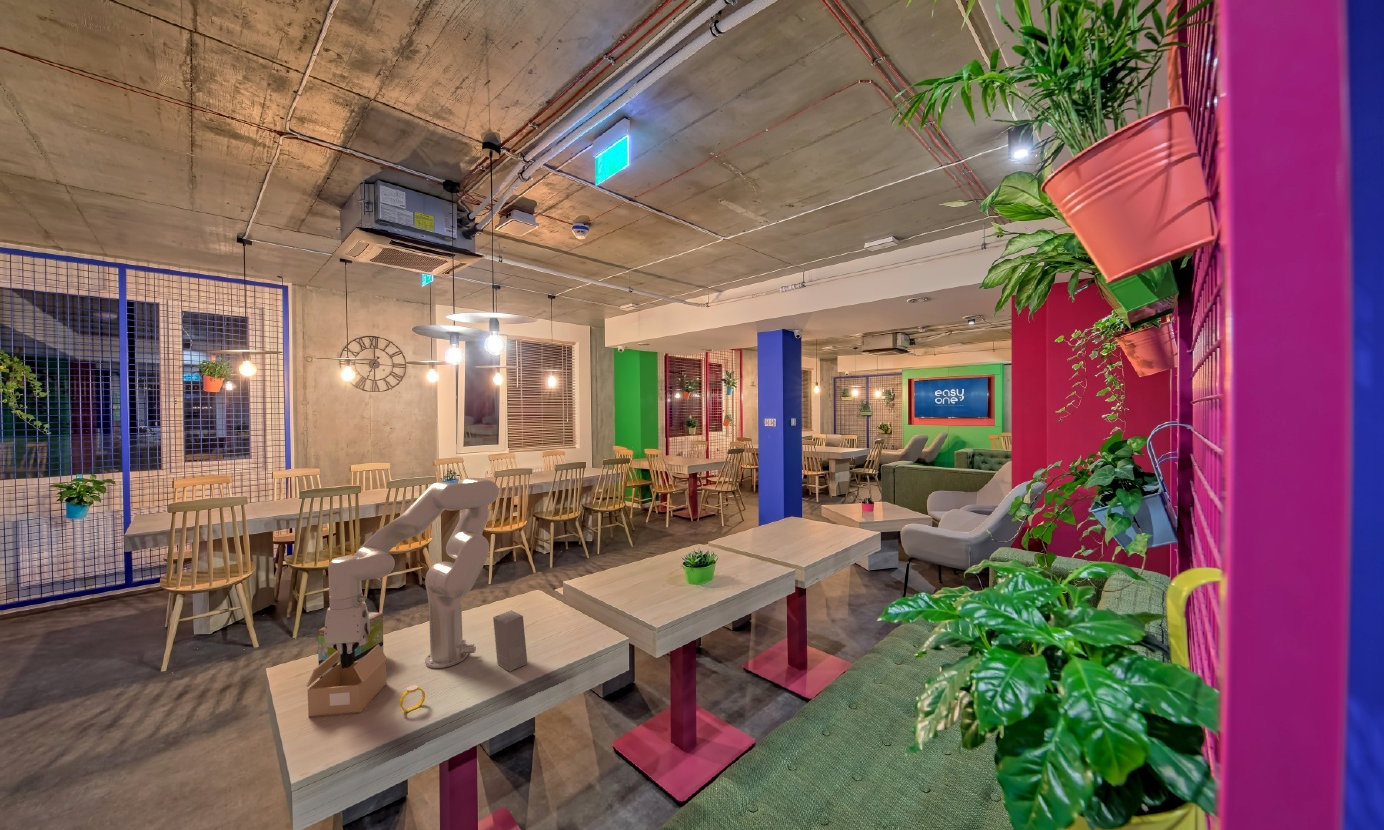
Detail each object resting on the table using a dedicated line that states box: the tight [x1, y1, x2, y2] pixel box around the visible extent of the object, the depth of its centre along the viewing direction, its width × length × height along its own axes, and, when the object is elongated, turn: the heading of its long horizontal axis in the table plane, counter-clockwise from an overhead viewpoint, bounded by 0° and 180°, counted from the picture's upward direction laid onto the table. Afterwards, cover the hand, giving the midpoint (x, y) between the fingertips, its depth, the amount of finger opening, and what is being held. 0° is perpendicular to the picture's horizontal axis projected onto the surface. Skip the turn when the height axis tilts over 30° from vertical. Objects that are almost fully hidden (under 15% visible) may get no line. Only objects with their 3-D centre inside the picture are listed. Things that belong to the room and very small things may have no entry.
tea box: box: [317, 611, 384, 678], centre depth 158 cm, size 15×10×15 cm, turn 168°
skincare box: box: [492, 610, 528, 672], centre depth 157 cm, size 8×7×16 cm
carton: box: [307, 659, 387, 718], centre depth 139 cm, size 13×14×8 cm
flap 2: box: [354, 644, 388, 683], centre depth 140 cm, size 5×12×1 cm
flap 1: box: [306, 651, 340, 688], centre depth 139 cm, size 5×12×1 cm
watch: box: [399, 684, 426, 713], centre depth 135 cm, size 6×3×6 cm, turn 136°
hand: (348, 665), depth 139 cm, fingers closed
